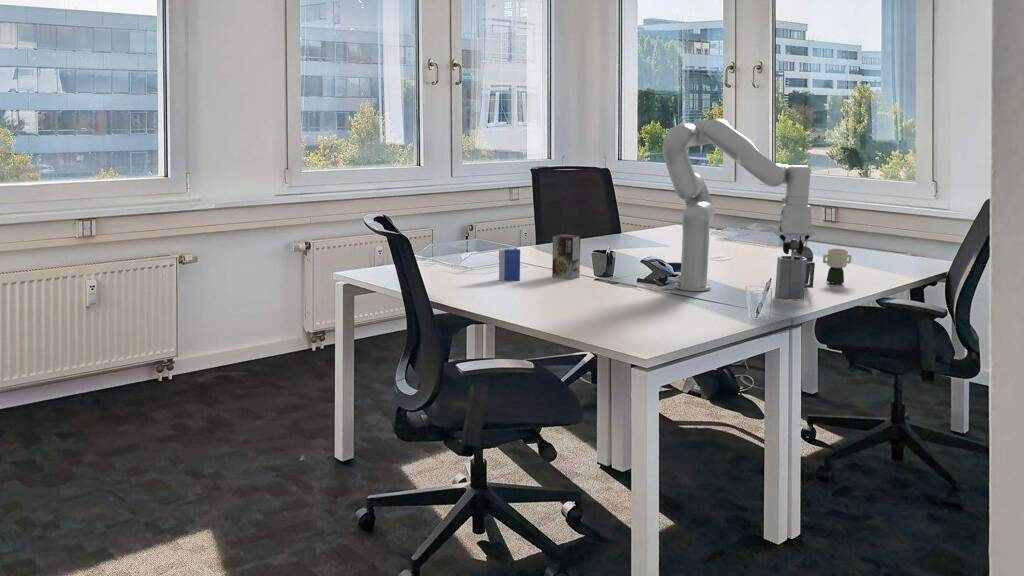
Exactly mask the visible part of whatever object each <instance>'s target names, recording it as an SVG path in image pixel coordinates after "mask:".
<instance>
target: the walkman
mask: <svg viewBox="0 0 1024 576" xmlns="http://www.w3.org/2000/svg"><path fill="white" fill-rule="evenodd" d="M498 260H499V261H498V267H499V268H498V281H499V282H500V281H501V282H505V281H506V282H507V281H509V282H517V281H518V282H520V280H521V249H520V248H518V247H517V248H516V247H515V248H510V249H509V248H499V250H498Z"/></svg>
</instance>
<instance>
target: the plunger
mask: <svg viewBox="0 0 1024 576" xmlns="http://www.w3.org/2000/svg"><path fill="white" fill-rule="evenodd" d="M788 243H789V251H790V250H791V252H790V254H791V255H790V256H791V260H794V252H795V250H799V244H800V242H799V241H797V239H796V238H792V239H790V240H788Z"/></svg>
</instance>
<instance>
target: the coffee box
mask: <svg viewBox="0 0 1024 576" xmlns="http://www.w3.org/2000/svg"><path fill="white" fill-rule="evenodd" d="M580 262H581V235H575V234H563V233H562V234H556V235H553V236H552V265H551V266H552V267H551V268H552V269H551V270H552V271H551V272H552V273H551V276H552V278H558V279H568V280H574V279H577V278H580V273H581V272H580V271H581V270H580V268H581V263H580Z"/></svg>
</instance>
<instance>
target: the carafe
mask: <svg viewBox="0 0 1024 576" xmlns="http://www.w3.org/2000/svg"><path fill="white" fill-rule="evenodd" d="M776 261H777V262H776V274H775V287H774V289H775V291H774V297H776V298H777V297H778V298H777V299H781V298H783V299H782V300H787V299H800V300H802V298H803V299H805V291H806V289H809V288H810V289H812V288H813V287H814V278H815V266H816V264H815V263H816V262H815V261H812V262H807V259H806V258H804V257H799V256H794V260H791V255H780V256H777V259H776ZM807 265H811V267H810V275H809V281H808V284H805V281H806V268H807ZM805 288H806V289H805Z"/></svg>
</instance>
